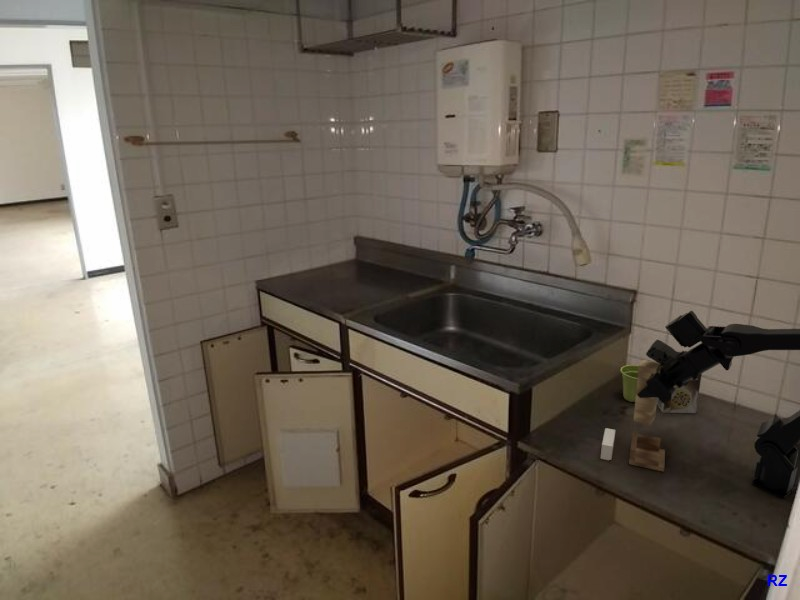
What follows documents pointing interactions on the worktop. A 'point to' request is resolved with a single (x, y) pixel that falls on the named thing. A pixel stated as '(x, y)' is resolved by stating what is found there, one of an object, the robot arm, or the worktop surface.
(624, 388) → the plant pot
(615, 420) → the worktop surface
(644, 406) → the oak peg
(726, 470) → the worktop surface
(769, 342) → the robot arm
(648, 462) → the walnut cradle
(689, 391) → the coffee box
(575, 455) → the worktop surface
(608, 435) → the white rectangular block
